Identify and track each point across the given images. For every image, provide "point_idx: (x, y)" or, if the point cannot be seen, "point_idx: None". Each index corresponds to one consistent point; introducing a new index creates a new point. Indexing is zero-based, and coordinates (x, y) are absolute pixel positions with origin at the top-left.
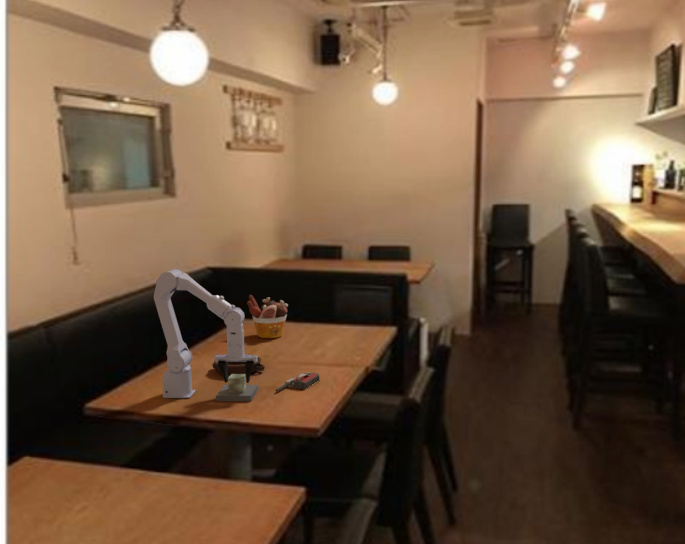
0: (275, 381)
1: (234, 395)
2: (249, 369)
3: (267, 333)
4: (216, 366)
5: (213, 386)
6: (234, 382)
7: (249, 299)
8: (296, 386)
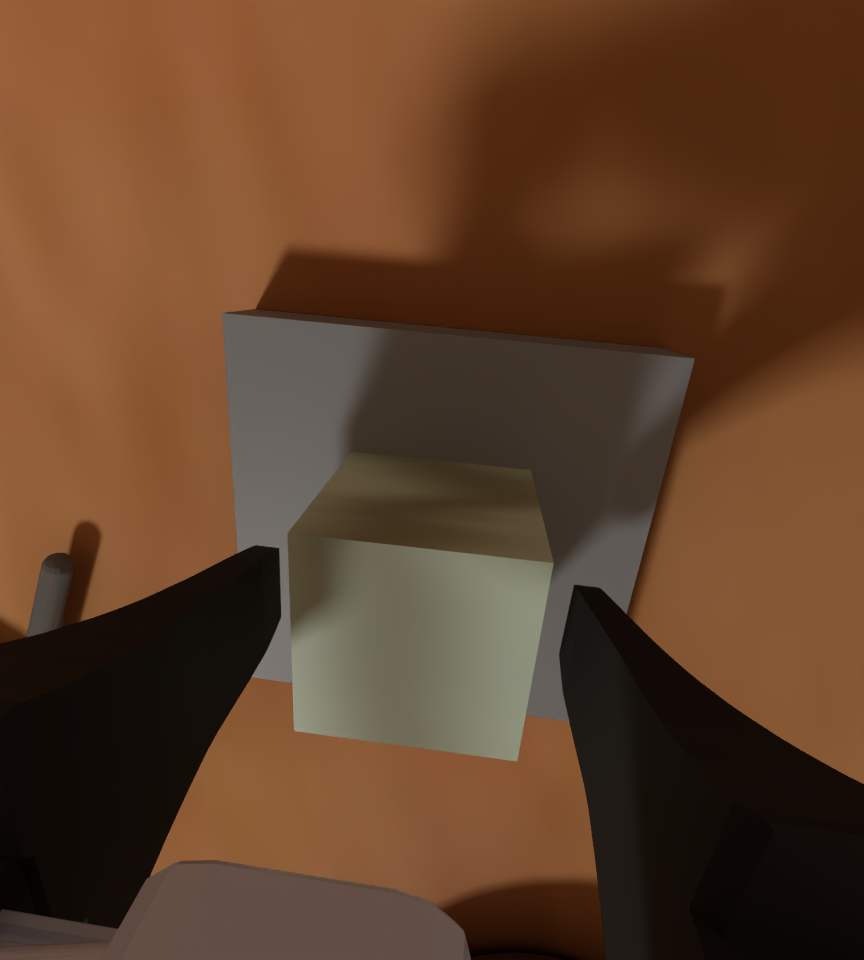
0: (188, 811)
1: (436, 336)
2: (43, 642)
3: None
4: None
5: None
6: (440, 514)
7: None
8: None
